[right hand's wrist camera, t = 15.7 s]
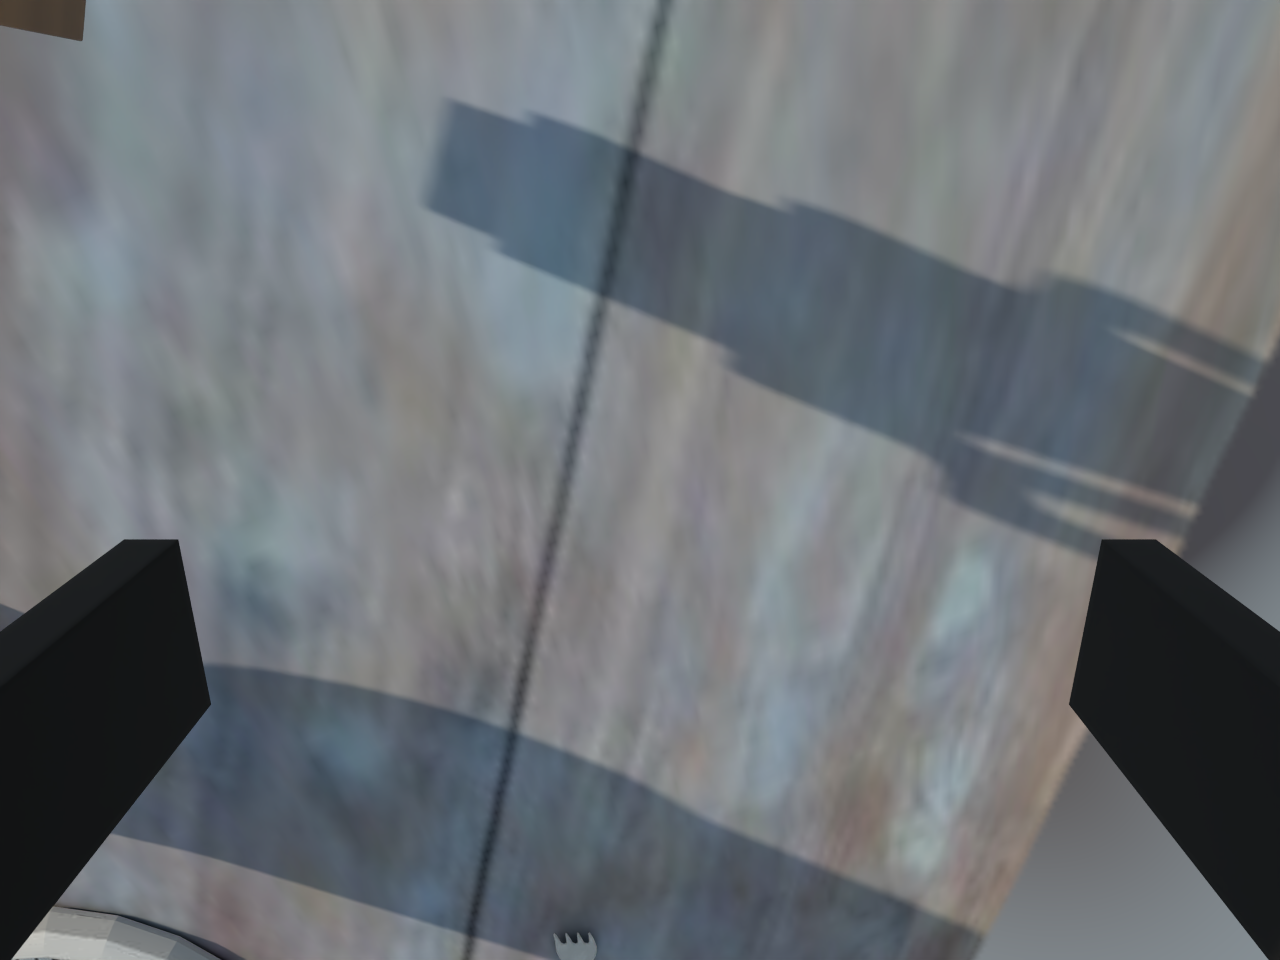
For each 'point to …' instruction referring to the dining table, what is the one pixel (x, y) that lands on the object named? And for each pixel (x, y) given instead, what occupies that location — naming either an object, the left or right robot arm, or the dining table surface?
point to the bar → (45, 16)
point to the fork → (576, 948)
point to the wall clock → (103, 939)
